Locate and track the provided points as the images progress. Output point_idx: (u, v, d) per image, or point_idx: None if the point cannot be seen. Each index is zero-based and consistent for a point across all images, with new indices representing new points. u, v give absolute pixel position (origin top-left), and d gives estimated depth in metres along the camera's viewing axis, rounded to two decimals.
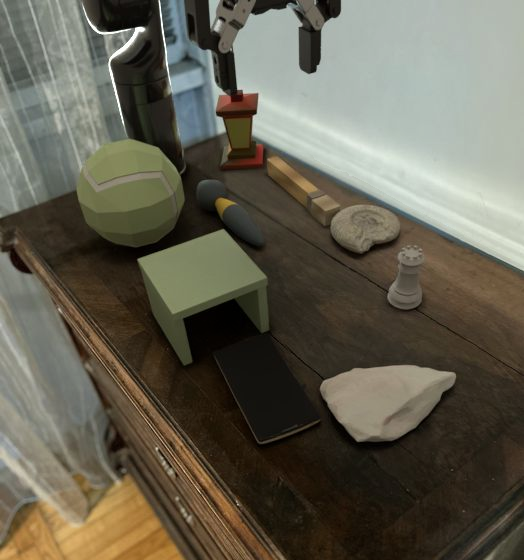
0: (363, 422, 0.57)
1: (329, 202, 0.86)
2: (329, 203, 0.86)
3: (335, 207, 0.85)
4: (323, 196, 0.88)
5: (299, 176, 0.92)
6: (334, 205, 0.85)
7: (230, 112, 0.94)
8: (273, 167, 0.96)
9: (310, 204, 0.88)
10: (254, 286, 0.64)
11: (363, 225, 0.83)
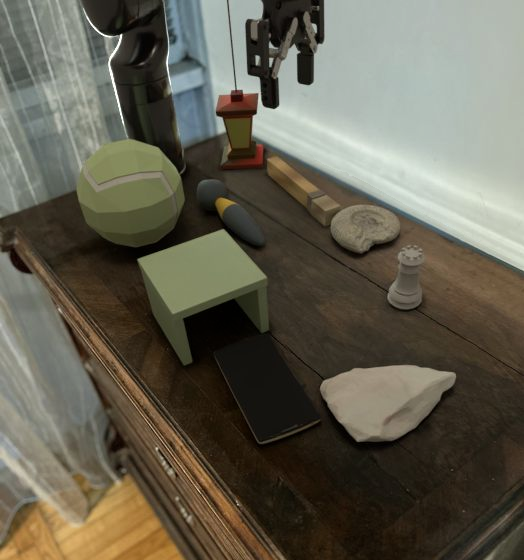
0: (364, 422, 0.57)
1: (329, 202, 0.86)
2: (329, 203, 0.86)
3: (335, 207, 0.85)
4: (323, 196, 0.88)
5: (299, 176, 0.92)
6: (334, 205, 0.85)
7: (230, 112, 0.94)
8: (273, 167, 0.96)
9: (310, 204, 0.88)
10: (254, 286, 0.64)
11: (363, 225, 0.83)
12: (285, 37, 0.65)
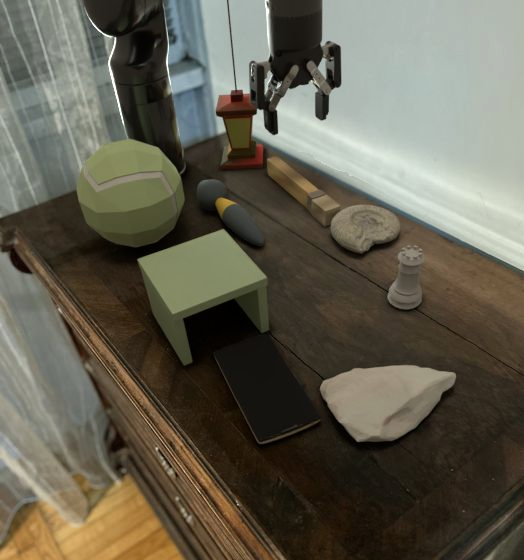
0: (364, 422, 0.57)
1: (329, 202, 0.86)
2: (329, 203, 0.86)
3: (335, 207, 0.85)
4: (323, 196, 0.88)
5: (299, 176, 0.92)
6: (334, 205, 0.85)
7: (230, 112, 0.94)
8: (273, 167, 0.96)
9: (310, 204, 0.88)
10: (254, 286, 0.64)
11: (363, 225, 0.83)
12: (284, 79, 0.77)
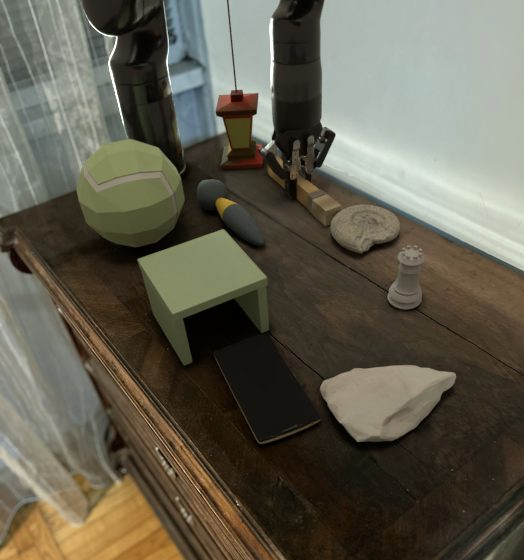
0: (364, 422, 0.57)
1: (329, 202, 0.86)
2: (329, 202, 0.86)
3: (335, 207, 0.85)
4: (324, 195, 0.88)
5: (299, 176, 0.92)
6: (334, 205, 0.85)
7: (230, 112, 0.94)
8: None
9: (311, 204, 0.88)
10: (254, 286, 0.64)
11: (363, 225, 0.83)
12: (291, 155, 0.86)
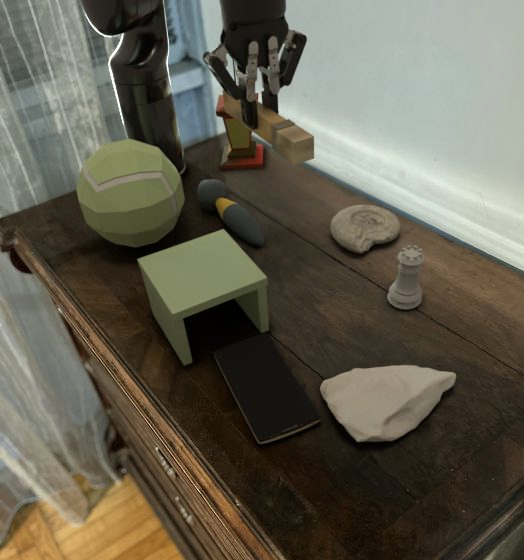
0: (364, 422, 0.57)
1: (299, 133, 0.65)
2: (299, 133, 0.65)
3: (307, 138, 0.64)
4: (292, 126, 0.67)
5: (262, 106, 0.71)
6: (306, 136, 0.65)
7: None
8: (230, 99, 0.75)
9: (275, 138, 0.67)
10: (254, 286, 0.64)
11: (363, 225, 0.83)
12: (247, 64, 0.65)
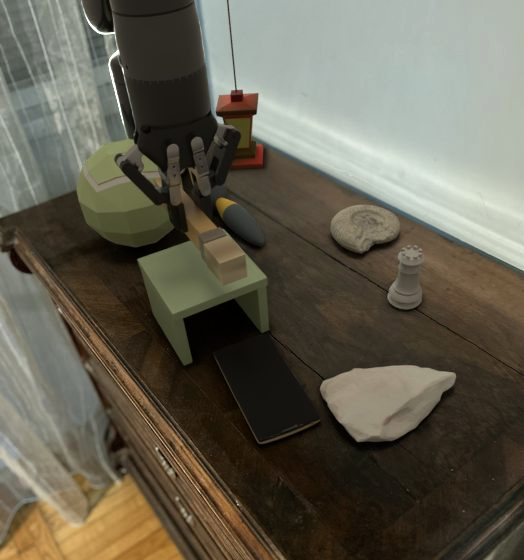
0: (364, 422, 0.57)
1: (229, 248, 0.55)
2: (228, 249, 0.55)
3: (237, 257, 0.54)
4: (223, 237, 0.57)
5: (193, 206, 0.61)
6: (235, 253, 0.54)
7: (230, 112, 0.94)
8: None
9: (203, 250, 0.57)
10: (254, 286, 0.64)
11: (363, 225, 0.83)
12: (167, 167, 0.55)
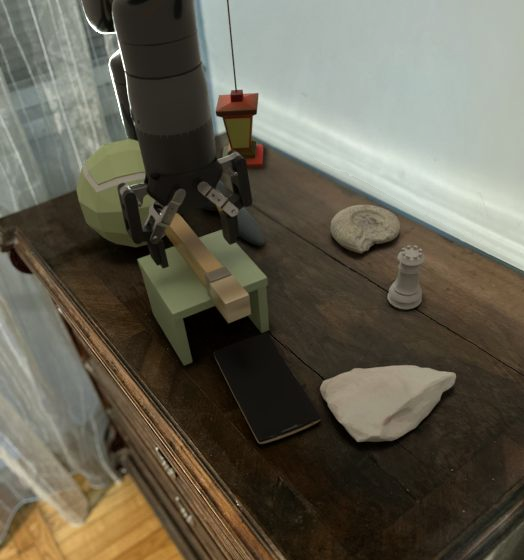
0: (364, 422, 0.57)
1: (234, 288, 0.59)
2: (233, 289, 0.59)
3: (241, 297, 0.58)
4: (228, 277, 0.60)
5: (200, 244, 0.65)
6: (240, 294, 0.58)
7: (230, 112, 0.94)
8: (169, 227, 0.68)
9: (209, 288, 0.61)
10: (254, 286, 0.64)
11: (363, 225, 0.83)
12: (166, 206, 0.57)
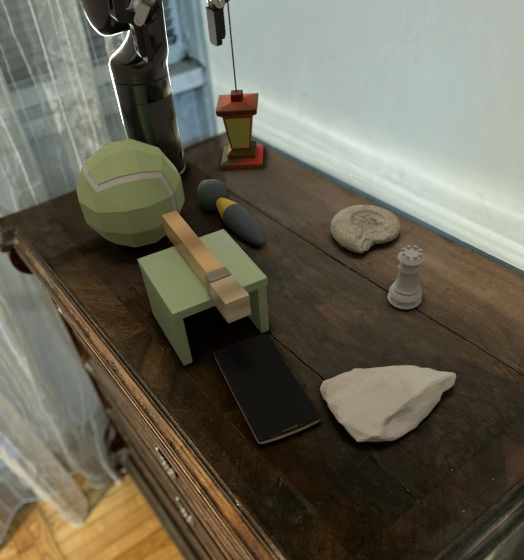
0: (364, 422, 0.57)
1: (234, 288, 0.59)
2: (233, 289, 0.59)
3: (241, 297, 0.58)
4: (228, 277, 0.60)
5: (200, 244, 0.65)
6: (240, 294, 0.58)
7: (230, 112, 0.94)
8: (169, 227, 0.68)
9: (209, 288, 0.61)
10: (254, 286, 0.64)
11: (363, 225, 0.83)
12: None
